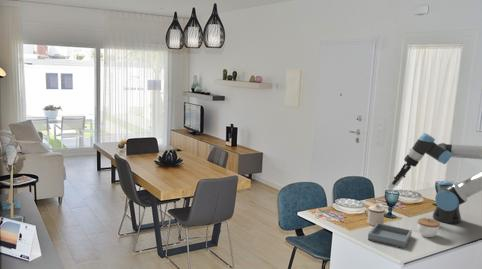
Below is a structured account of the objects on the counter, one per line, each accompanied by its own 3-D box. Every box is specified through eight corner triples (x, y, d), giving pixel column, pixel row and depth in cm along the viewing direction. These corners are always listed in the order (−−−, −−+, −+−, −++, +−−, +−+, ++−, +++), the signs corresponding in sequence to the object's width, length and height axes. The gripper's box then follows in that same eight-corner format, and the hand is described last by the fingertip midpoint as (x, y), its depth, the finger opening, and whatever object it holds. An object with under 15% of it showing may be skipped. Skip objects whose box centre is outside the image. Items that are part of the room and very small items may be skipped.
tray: (411, 236, 220) (411, 230, 220) (404, 248, 205) (405, 241, 205) (376, 228, 230) (377, 222, 229) (367, 239, 214) (368, 233, 214)
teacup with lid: (386, 224, 237) (388, 204, 235) (377, 228, 231) (379, 208, 229) (368, 218, 246) (370, 199, 244) (359, 221, 240) (361, 202, 238)
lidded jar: (428, 240, 216) (430, 223, 214) (412, 233, 225) (413, 216, 224) (442, 237, 220) (444, 220, 219) (426, 230, 230) (427, 214, 228)
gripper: (411, 151, 253) (391, 179, 260) (403, 156, 232) (382, 186, 239) (422, 159, 250) (402, 186, 257) (415, 164, 228) (393, 194, 236)
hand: (392, 186), depth 248 cm, fingers open, 13 cm apart
